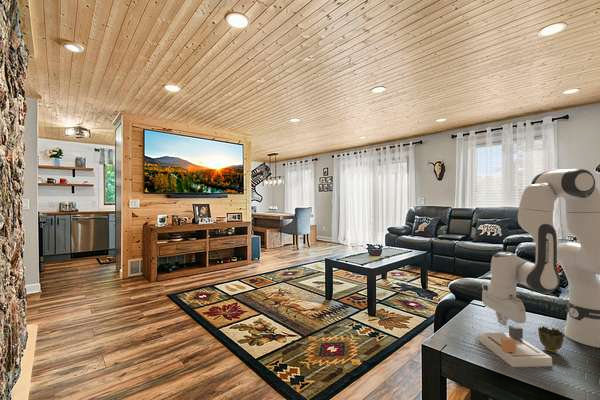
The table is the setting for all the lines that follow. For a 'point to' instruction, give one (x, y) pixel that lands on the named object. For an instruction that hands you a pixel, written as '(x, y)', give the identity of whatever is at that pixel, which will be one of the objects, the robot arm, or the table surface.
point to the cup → (551, 339)
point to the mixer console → (524, 351)
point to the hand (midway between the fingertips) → (502, 324)
